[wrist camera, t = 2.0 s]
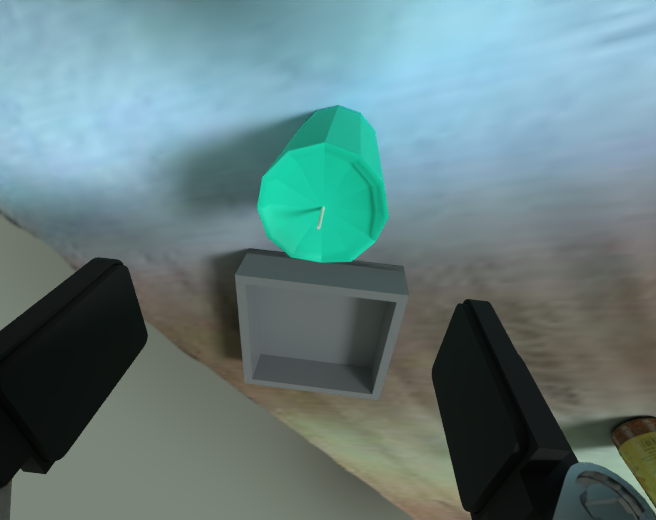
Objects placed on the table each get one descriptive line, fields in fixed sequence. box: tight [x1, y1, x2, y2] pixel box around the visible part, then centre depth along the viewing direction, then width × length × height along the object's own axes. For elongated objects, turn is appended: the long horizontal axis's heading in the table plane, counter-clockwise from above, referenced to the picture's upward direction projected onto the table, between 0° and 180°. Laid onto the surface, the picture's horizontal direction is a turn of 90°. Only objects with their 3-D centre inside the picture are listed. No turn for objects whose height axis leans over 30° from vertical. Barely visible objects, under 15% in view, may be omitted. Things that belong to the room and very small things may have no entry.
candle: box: [257, 105, 389, 263], centre depth 18 cm, size 6×6×12 cm
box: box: [235, 248, 409, 400], centre depth 31 cm, size 14×14×4 cm
